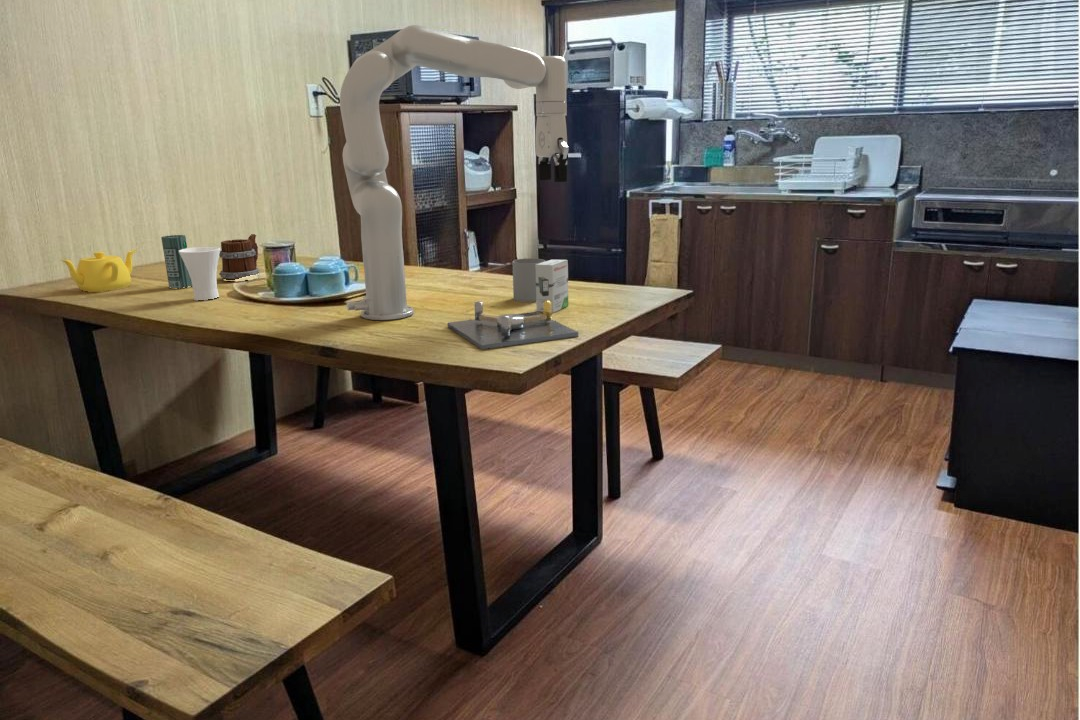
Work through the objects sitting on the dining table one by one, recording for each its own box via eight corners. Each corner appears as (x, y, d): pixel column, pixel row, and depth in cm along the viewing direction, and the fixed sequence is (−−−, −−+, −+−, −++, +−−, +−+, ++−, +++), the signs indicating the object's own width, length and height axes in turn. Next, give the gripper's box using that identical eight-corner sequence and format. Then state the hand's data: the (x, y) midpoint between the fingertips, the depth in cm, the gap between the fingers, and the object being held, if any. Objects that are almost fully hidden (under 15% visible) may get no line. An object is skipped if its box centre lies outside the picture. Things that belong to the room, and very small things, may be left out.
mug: (209, 281, 238) (208, 231, 236) (240, 281, 252) (240, 233, 250) (241, 283, 235) (241, 232, 233) (271, 282, 248) (271, 234, 246)
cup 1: (221, 293, 222) (215, 245, 218) (231, 299, 213) (224, 249, 210) (182, 298, 216) (174, 249, 212) (190, 304, 208) (182, 253, 204)
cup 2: (541, 302, 202) (540, 263, 199) (510, 301, 203) (509, 263, 200) (547, 295, 209) (547, 258, 207) (518, 295, 211) (517, 258, 208)
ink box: (552, 304, 199) (551, 258, 196) (569, 306, 196) (569, 259, 193) (535, 311, 192) (534, 263, 188) (553, 313, 189) (552, 264, 186)
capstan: (503, 337, 163) (502, 315, 162) (474, 320, 178) (473, 300, 177) (568, 328, 169) (568, 307, 168) (535, 313, 184) (534, 293, 183)
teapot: (82, 298, 219) (74, 259, 216) (56, 292, 228) (48, 255, 225) (157, 285, 236) (151, 249, 233) (130, 280, 245) (125, 245, 242)
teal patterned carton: (196, 285, 234) (189, 235, 229) (183, 289, 228) (175, 237, 224) (179, 285, 235) (171, 234, 231) (165, 288, 229) (157, 237, 225)
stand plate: (482, 349, 159) (482, 344, 159) (447, 326, 178) (447, 321, 178) (578, 336, 168) (578, 330, 167) (535, 315, 187) (535, 310, 187)
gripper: (524, 111, 199) (526, 179, 204) (551, 109, 184) (552, 183, 189) (551, 110, 202) (552, 178, 207) (580, 108, 187) (580, 181, 192)
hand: (552, 180), depth 198 cm, fingers open, 9 cm apart
